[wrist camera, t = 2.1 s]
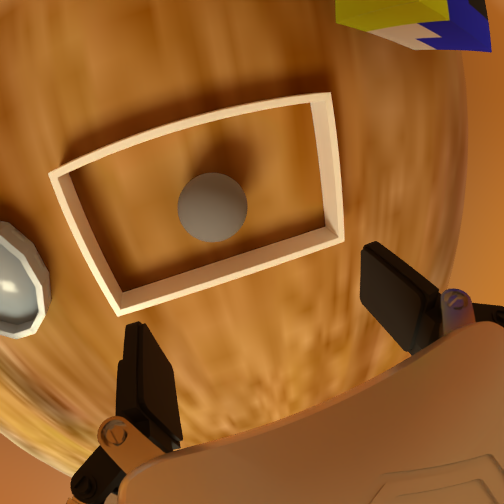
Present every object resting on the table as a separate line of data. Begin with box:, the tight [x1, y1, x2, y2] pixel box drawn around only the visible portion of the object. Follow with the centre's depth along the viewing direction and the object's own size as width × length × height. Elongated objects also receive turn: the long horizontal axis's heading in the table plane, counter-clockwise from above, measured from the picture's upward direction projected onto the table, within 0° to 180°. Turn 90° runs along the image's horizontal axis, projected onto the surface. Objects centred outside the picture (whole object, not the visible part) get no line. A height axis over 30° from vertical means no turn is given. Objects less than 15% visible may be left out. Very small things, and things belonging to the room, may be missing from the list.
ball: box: [178, 173, 247, 242], centre depth 20 cm, size 5×5×5 cm
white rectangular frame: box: [48, 92, 344, 316], centre depth 21 cm, size 13×21×2 cm, turn 101°
